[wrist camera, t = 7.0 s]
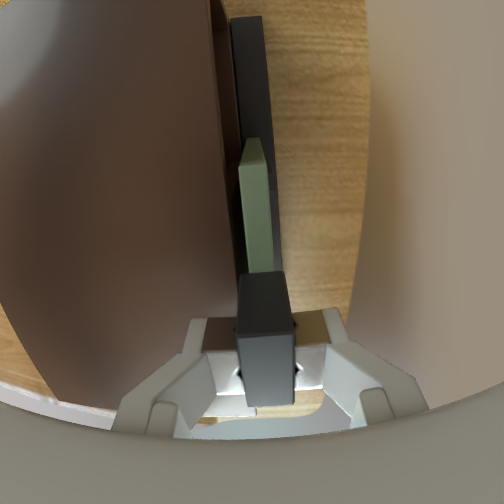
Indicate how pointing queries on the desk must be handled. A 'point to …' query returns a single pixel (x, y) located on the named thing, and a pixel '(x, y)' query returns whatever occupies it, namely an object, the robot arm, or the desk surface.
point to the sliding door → (263, 294)
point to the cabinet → (125, 183)
